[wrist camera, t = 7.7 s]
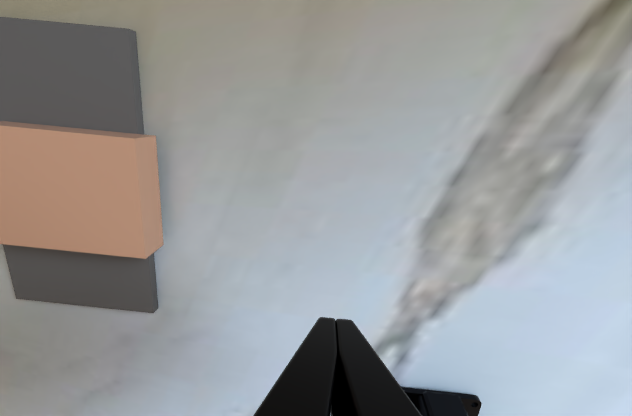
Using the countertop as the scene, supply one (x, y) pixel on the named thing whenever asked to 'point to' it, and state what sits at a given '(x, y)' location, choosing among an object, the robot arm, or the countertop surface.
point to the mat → (76, 112)
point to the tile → (79, 190)
